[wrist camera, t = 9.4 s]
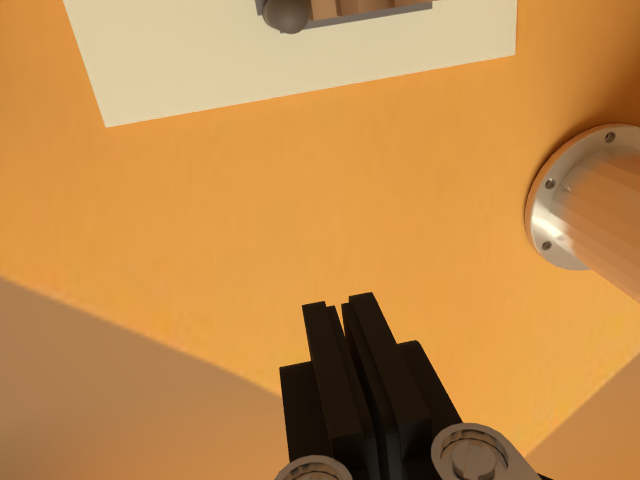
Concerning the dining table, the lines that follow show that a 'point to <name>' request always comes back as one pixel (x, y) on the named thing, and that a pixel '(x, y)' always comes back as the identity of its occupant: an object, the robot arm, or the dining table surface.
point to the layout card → (266, 50)
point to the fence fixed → (320, 11)
